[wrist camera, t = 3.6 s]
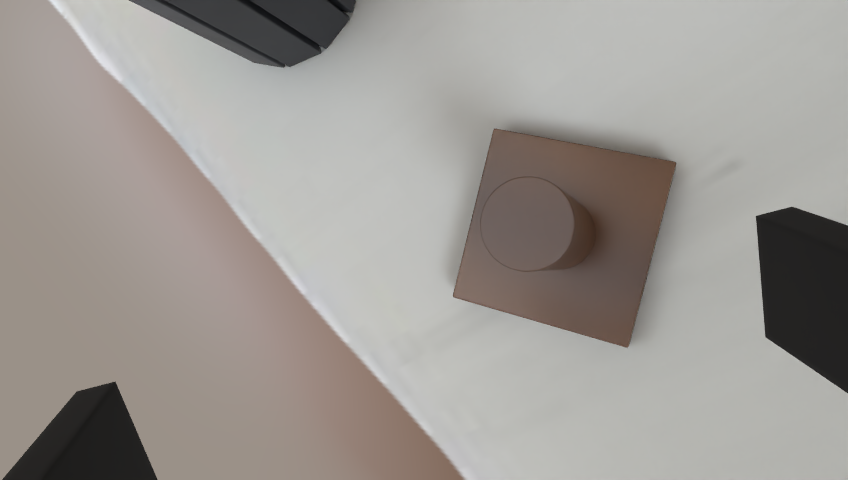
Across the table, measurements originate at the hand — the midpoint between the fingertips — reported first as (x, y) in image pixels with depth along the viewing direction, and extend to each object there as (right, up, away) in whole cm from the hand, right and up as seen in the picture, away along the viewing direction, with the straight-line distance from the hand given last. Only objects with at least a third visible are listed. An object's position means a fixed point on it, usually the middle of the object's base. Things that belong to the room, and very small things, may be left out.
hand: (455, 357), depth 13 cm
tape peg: (+7, +3, +20) cm, 21 cm away
